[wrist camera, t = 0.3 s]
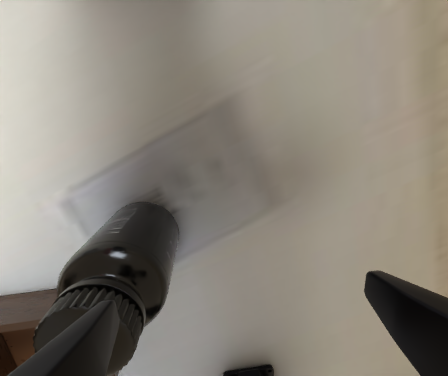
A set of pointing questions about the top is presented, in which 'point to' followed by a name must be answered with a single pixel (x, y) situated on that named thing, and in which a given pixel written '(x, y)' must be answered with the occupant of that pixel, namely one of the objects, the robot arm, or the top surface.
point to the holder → (21, 326)
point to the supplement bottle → (117, 277)
